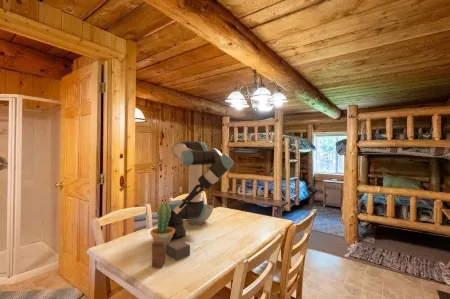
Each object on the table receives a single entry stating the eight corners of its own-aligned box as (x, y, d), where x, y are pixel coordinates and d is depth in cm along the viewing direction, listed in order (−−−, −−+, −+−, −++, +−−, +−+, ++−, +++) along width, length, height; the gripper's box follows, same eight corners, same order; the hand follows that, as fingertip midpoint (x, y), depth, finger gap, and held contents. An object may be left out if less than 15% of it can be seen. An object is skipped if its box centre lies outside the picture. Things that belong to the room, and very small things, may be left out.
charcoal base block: (166, 255, 130) (167, 244, 130) (180, 250, 136) (180, 240, 136) (176, 261, 124) (176, 249, 124) (189, 255, 130) (190, 244, 130)
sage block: (156, 253, 132) (157, 235, 132) (164, 250, 136) (164, 233, 136) (162, 256, 129) (162, 237, 129) (169, 253, 133) (169, 235, 133)
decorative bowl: (176, 219, 196) (176, 205, 196) (206, 216, 207) (206, 202, 207) (184, 229, 172) (184, 213, 172) (218, 225, 183) (218, 209, 183)
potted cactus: (179, 240, 152) (180, 201, 152) (167, 249, 137) (168, 207, 137) (158, 237, 156) (158, 200, 156) (144, 246, 141) (145, 205, 141)
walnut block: (155, 263, 121) (155, 239, 121) (164, 263, 121) (164, 240, 121) (151, 267, 116) (152, 243, 116) (161, 268, 116) (162, 243, 116)
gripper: (211, 188, 105) (178, 221, 106) (214, 181, 130) (187, 207, 131) (199, 176, 106) (166, 209, 106) (205, 171, 130) (178, 198, 131)
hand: (178, 208), depth 118 cm, fingers open, 13 cm apart
